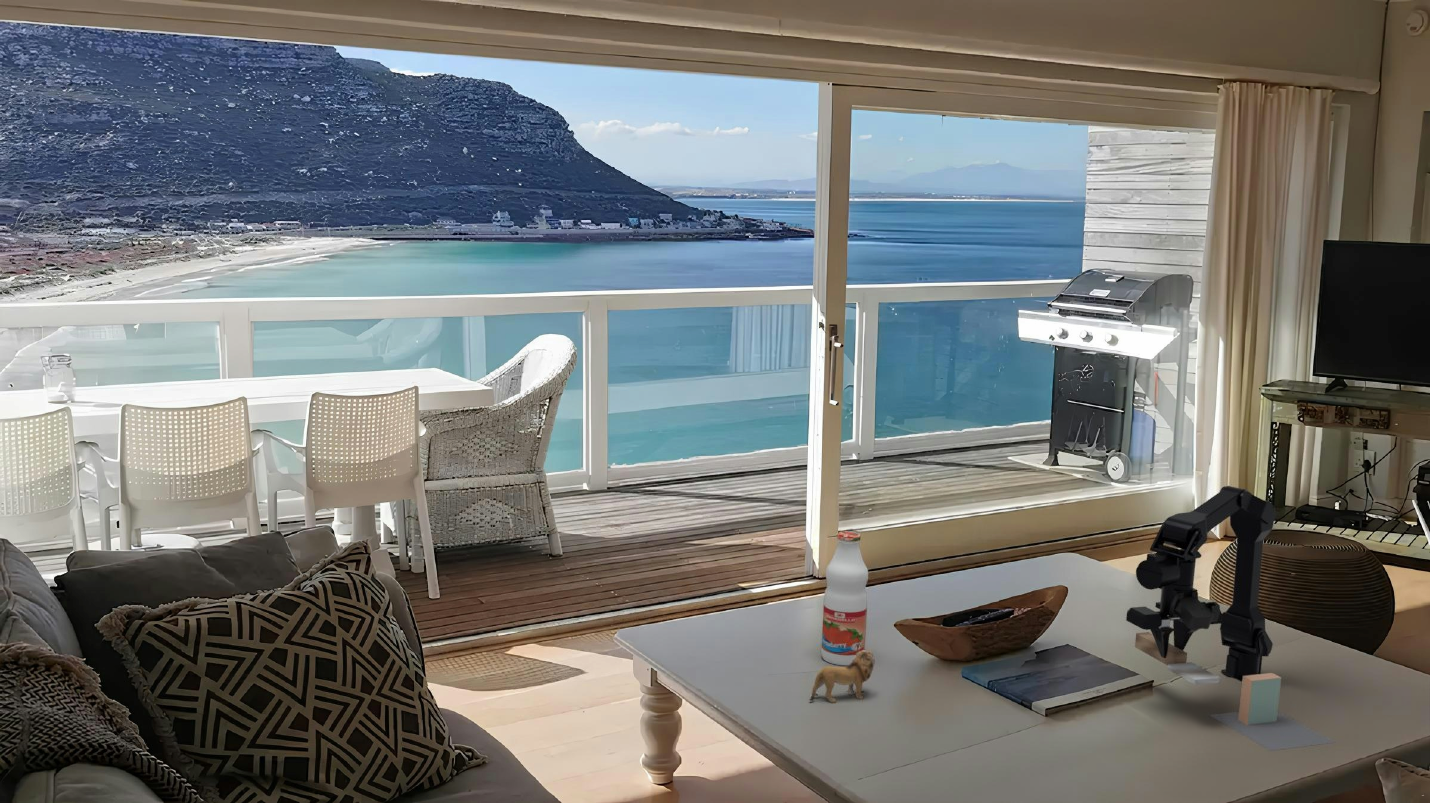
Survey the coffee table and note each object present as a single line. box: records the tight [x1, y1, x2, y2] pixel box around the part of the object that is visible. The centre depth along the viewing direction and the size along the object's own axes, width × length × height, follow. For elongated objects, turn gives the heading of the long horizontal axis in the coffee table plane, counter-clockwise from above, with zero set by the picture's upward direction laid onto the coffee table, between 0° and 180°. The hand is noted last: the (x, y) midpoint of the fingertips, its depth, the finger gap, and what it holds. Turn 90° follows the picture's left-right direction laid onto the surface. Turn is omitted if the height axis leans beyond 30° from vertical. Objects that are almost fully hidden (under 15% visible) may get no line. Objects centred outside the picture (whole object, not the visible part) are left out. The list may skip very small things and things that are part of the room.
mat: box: [1209, 711, 1336, 752], centre depth 221 cm, size 15×16×1 cm
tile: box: [1238, 672, 1282, 725], centre depth 224 cm, size 7×2×9 cm, turn 107°
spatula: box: [1134, 631, 1221, 686], centre depth 229 cm, size 20×6×3 cm, turn 16°
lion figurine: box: [808, 649, 876, 703], centre depth 230 cm, size 15×5×9 cm, turn 118°
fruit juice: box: [820, 530, 869, 666], centre depth 249 cm, size 9×9×28 cm
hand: (1170, 656), depth 230 cm, fingers closed on spatula, 3 cm apart
